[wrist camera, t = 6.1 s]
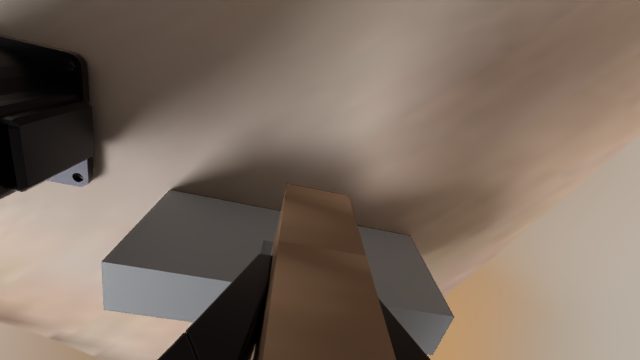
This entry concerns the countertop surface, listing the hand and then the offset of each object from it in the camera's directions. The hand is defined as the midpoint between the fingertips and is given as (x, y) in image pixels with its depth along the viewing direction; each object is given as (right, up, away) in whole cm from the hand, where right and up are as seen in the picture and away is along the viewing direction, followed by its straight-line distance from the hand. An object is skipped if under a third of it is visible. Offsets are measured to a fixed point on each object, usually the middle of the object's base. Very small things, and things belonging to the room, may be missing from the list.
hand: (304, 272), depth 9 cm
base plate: (-1, 0, +9) cm, 9 cm away
